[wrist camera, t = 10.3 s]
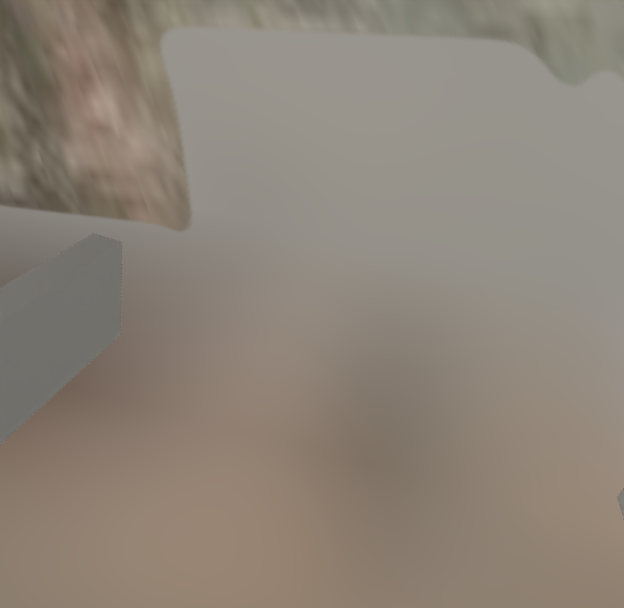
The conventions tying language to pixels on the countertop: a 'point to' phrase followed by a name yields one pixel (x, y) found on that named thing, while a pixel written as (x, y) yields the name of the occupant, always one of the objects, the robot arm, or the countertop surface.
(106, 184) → the countertop surface
